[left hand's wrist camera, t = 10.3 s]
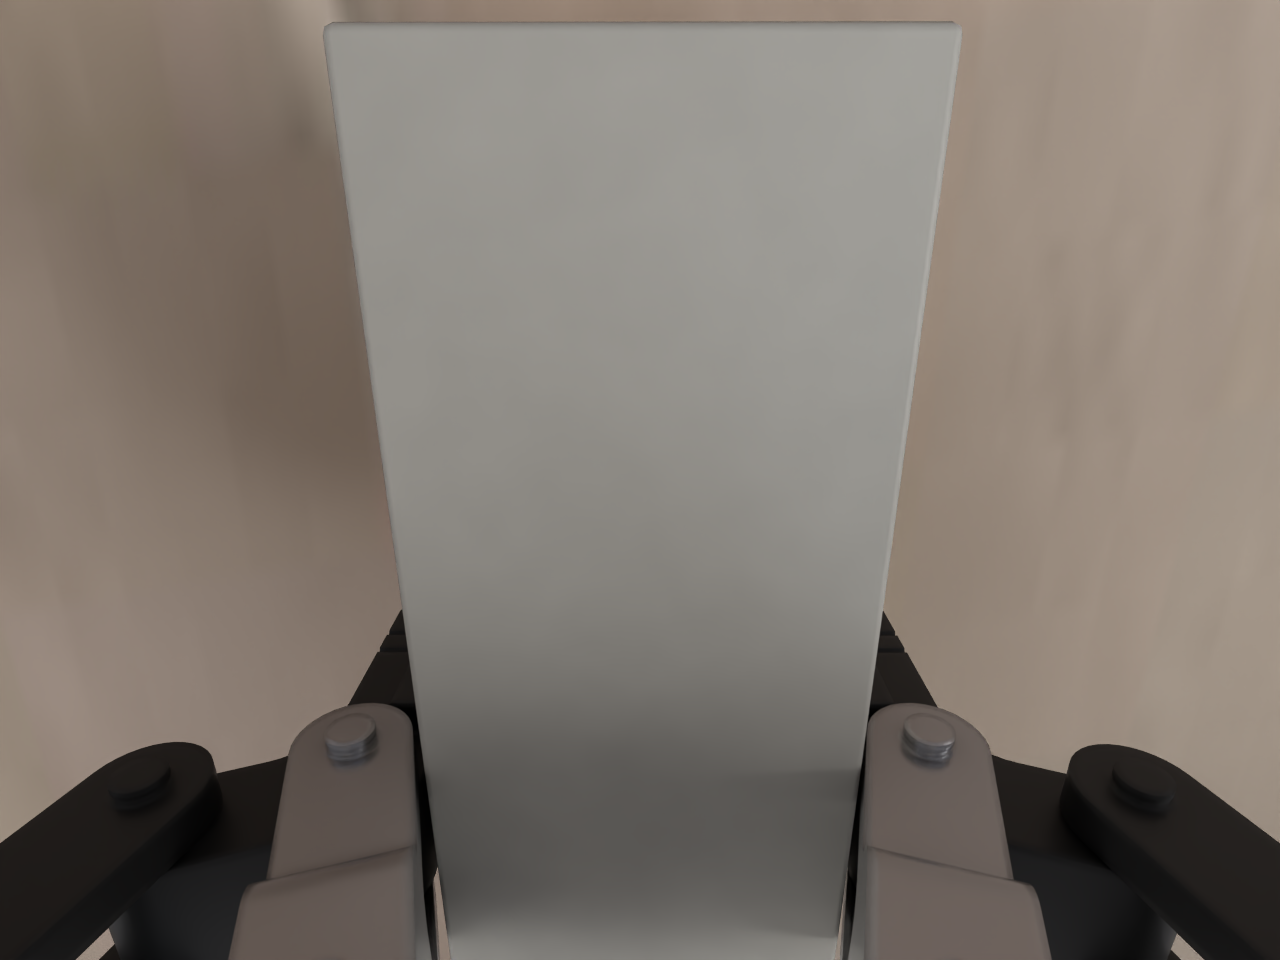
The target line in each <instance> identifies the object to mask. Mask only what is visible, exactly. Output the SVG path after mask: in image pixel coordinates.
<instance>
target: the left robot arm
mask: <svg viewBox="0 0 1280 960" xmlns="http://www.w3.org/2000/svg"><path fill="white" fill-rule="evenodd" d="M437 867H438V863H437V856H436V849H435V842H434V835H433V827H432V820H431V813H430V806H429V798H428V791H427V784H426V777H425V769H424V762H423V755H422V748H421V741H420V733H419V726H418V719H417V712H416V704H415V697H414V690H413V683H412V675H411V668H410V661H409V654H408V647H407V639H406V632H405V625H404V618H403V610H401V611H400V613H399V614H398V616H397V618H396V620H395V622H394V623H393V625H392V627H391V629H390V631H389V635H387V636H386V638H385V640H384V641H383V643H382V645H381V647H380V652H377V654H376V656H375V658H374V659H373V661H372V663H371V665H370V667H369V668H368V670H367V672H366V674H365V676H364V677H363V679H362V681H361V683H360V685H359V686H358V688H357V690H356V692H355V694H354V695H353V697H352V699H351V701H350V703H349V704H348V706H346V707H342V708H339V709H336V710H334V711H331V712H329V713H327V714H325V715H323V716H321V717H319V718H318V719H316V720H314V721H313V722H312V723H310V724H309V725H308V726H306V727H305V728H304V729H303V730H302V731H301V732H300V733H299V734H298V736H297V737H296V738H295V740H294V741H293V743H292V745H291V747H290V751H289V754H288V756H286V757H283V758H281V759H277V760H273V761H270V762H266V763H261V764H257V765H252V766H248V767H243V768H239V769H235V770H230V771H226V772H221V773H216V769H215V765H214V762H213V759H212V756H211V754H210V753H209V752H208V751H207V750H206V749H205V748H203V747H202V746H199V745H196V744H193V743H186V742H170V743H162V744H157V745H152V746H148V747H145V748H141V749H138V750H136V751H133V752H130V753H128V754H126V755H123V756H121V757H119V758H117V759H115V760H113V761H112V762H110V763H108V764H106V765H105V766H103V767H102V768H100V769H99V770H97V771H96V772H94V773H93V774H92V775H90V776H89V777H88V778H86V779H85V780H84V781H82V782H81V783H80V784H78V785H77V786H76V787H74V788H73V789H72V790H70V791H69V792H68V793H66V794H65V795H64V796H62V797H61V798H60V799H58V800H57V801H56V802H54V803H53V804H52V805H50V806H49V807H48V808H46V809H45V810H44V811H42V812H41V813H40V814H38V815H37V816H36V817H35V818H33V819H32V820H31V821H29V822H28V823H27V824H25V825H24V826H23V827H21V828H20V829H19V830H17V831H16V832H15V833H13V834H12V835H11V836H9V837H8V838H7V839H5V840H4V841H3V842H1V843H0V960H76V959H77V958H78V957H79V956H80V955H81V954H82V953H83V952H84V951H85V950H86V949H87V948H88V947H89V946H90V945H91V944H92V943H93V942H94V941H95V940H96V939H97V938H98V937H99V936H101V935H102V934H103V933H104V932H105V931H106V930H107V929H108V928H109V930H110V933H111V935H112V938H113V941H114V943H115V944H114V945H113V946H112V947H111V948H110V949H109V950H108V951H107V952H106V953H105V954H104V955H103V956H102V957H101V958H100V959H99V960H440V952H439V936H438V920H437V904H436V892H435V884H434V876H435V874H436V870H437ZM847 867H848V869H847V876H846V883H845V890H844V902H843V918H842V934H841V950H840V960H1181V959H1180V958H1179V957H1178V956H1177V955H1176V954H1175V953H1174V952H1173V951H1172V950H1171V947H1172V945H1173V942H1174V940H1175V937H1176V934H1178V935H1180V936H1181V937H1182V938H1183V939H1184V940H1185V941H1186V942H1187V943H1188V944H1189V945H1190V946H1191V947H1192V948H1193V949H1194V950H1195V951H1196V952H1197V953H1198V954H1199V955H1200V956H1201V957H1202V958H1203V959H1204V960H1280V843H1279V842H1277V841H1276V840H1275V839H1273V838H1272V837H1271V836H1269V835H1268V834H1267V833H1265V832H1264V831H1263V830H1261V829H1260V828H1259V827H1257V826H1256V825H1255V824H1253V823H1252V822H1251V821H1250V820H1248V819H1247V818H1246V817H1244V816H1243V815H1242V814H1240V813H1239V812H1238V811H1236V810H1235V809H1234V808H1232V807H1231V806H1230V805H1228V804H1227V803H1226V802H1224V801H1223V800H1222V799H1220V798H1219V797H1218V796H1216V795H1215V794H1214V793H1212V792H1211V791H1210V790H1208V789H1207V788H1206V787H1204V786H1203V785H1202V784H1200V783H1199V782H1198V781H1196V780H1195V779H1194V778H1192V777H1191V776H1190V775H1188V774H1187V773H1185V772H1184V771H1182V770H1181V769H1180V768H1178V767H1176V766H1174V765H1173V764H1171V763H1169V762H1167V761H1165V760H1163V759H1161V758H1159V757H1157V756H1155V755H1152V754H1149V753H1147V752H1144V751H1141V750H1137V749H1134V748H1130V747H1125V746H1120V745H1111V744H1097V745H1091V746H1087V747H1084V748H1082V749H1080V750H1078V751H1077V752H1075V754H1074V755H1073V756H1072V757H1071V760H1070V763H1069V767H1068V770H1067V774H1064V773H1060V772H1055V771H1051V770H1047V769H1042V768H1038V767H1033V766H1029V765H1024V764H1020V763H1016V762H1012V761H1009V760H1005V759H1002V758H999V757H997V756H994V755H992V754H991V751H990V748H989V745H988V743H987V742H986V740H985V738H984V737H983V736H982V735H981V733H980V732H979V731H978V730H977V729H976V728H974V727H973V726H972V725H971V724H970V723H968V722H967V721H965V720H964V719H962V718H960V717H959V716H957V715H955V714H953V713H951V712H948V711H946V710H943V709H940V708H938V707H937V705H936V703H935V702H934V700H933V698H932V696H931V695H930V693H929V691H928V689H927V688H926V686H925V684H924V682H923V680H922V679H921V677H920V675H919V673H918V672H917V670H916V668H915V666H914V664H913V663H912V661H911V659H910V657H909V656H908V654H907V653H905V652H904V647H903V645H902V643H901V641H900V640H899V638H898V636H895V631H894V629H893V627H892V626H891V624H890V622H889V620H888V618H887V617H886V615H885V613H884V611H883V613H882V620H881V628H880V635H879V642H878V649H877V657H876V664H875V671H874V678H873V686H872V693H871V700H870V707H869V714H868V722H867V729H866V736H865V743H864V751H863V758H862V765H861V772H860V780H859V787H858V794H857V801H856V809H855V816H854V823H853V830H852V838H851V845H850V852H849V859H848V866H847Z"/></svg>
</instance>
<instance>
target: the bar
mask: <svg viewBox="0 0 1280 960" xmlns="http://www.w3.org/2000/svg"><path fill="white" fill-rule="evenodd" d="M323 39H324V46H325V54H326V61H327V68H328V75H329V83H330V90H331V97H332V104H333V112H334V119H335V126H336V133H337V140H338V148H339V155H340V162H341V169H342V177H343V184H344V191H345V198H346V205H347V213H348V220H349V227H350V234H351V242H352V249H353V256H354V263H355V271H356V278H357V285H358V292H359V299H360V307H361V314H362V321H363V328H364V336H365V343H366V350H367V357H368V365H369V372H370V379H371V386H372V393H373V401H374V408H375V415H376V422H377V430H378V437H379V444H380V451H381V459H382V466H383V473H384V480H385V487H386V495H387V502H388V509H389V516H390V524H391V531H392V538H393V545H394V553H395V560H396V567H397V574H398V581H399V589H400V596H401V603H402V610H403V618H404V625H405V632H406V639H407V647H408V654H409V661H410V668H411V675H412V683H413V690H414V697H415V704H416V712H417V719H418V726H419V733H420V741H421V748H422V755H423V762H424V769H425V777H426V784H427V791H428V798H429V806H430V813H431V820H432V827H433V835H434V842H435V849H436V856H437V863H438V871H439V878H440V885H441V892H442V900H443V907H444V914H445V921H446V928H447V936H448V943H449V950H450V957H451V960H835V953H836V946H837V939H838V932H839V924H840V917H841V910H842V903H843V895H844V888H845V881H846V874H847V866H848V859H849V852H850V845H851V838H852V830H853V823H854V816H855V809H856V801H857V794H858V787H859V780H860V772H861V765H862V758H863V751H864V743H865V736H866V729H867V722H868V714H869V707H870V700H871V693H872V686H873V678H874V671H875V664H876V657H877V649H878V642H879V635H880V628H881V620H882V613H883V606H884V599H885V591H886V584H887V577H888V570H889V562H890V555H891V548H892V541H893V534H894V526H895V519H896V512H897V505H898V497H899V490H900V483H901V476H902V468H903V461H904V454H905V447H906V439H907V432H908V425H909V418H910V411H911V403H912V396H913V389H914V382H915V374H916V367H917V360H918V353H919V345H920V338H921V331H922V324H923V316H924V309H925V302H926V295H927V287H928V280H929V273H930V266H931V259H932V251H933V244H934V237H935V230H936V222H937V215H938V208H939V201H940V193H941V186H942V179H943V172H944V164H945V157H946V150H947V143H948V135H949V128H950V121H951V114H952V107H953V99H954V92H955V85H956V78H957V70H958V63H959V56H960V49H961V41H962V28H961V26H960V25H958V24H956V23H954V22H952V21H835V22H332V23H330V24H329V25H327V26H325V27H324V33H323Z"/></svg>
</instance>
